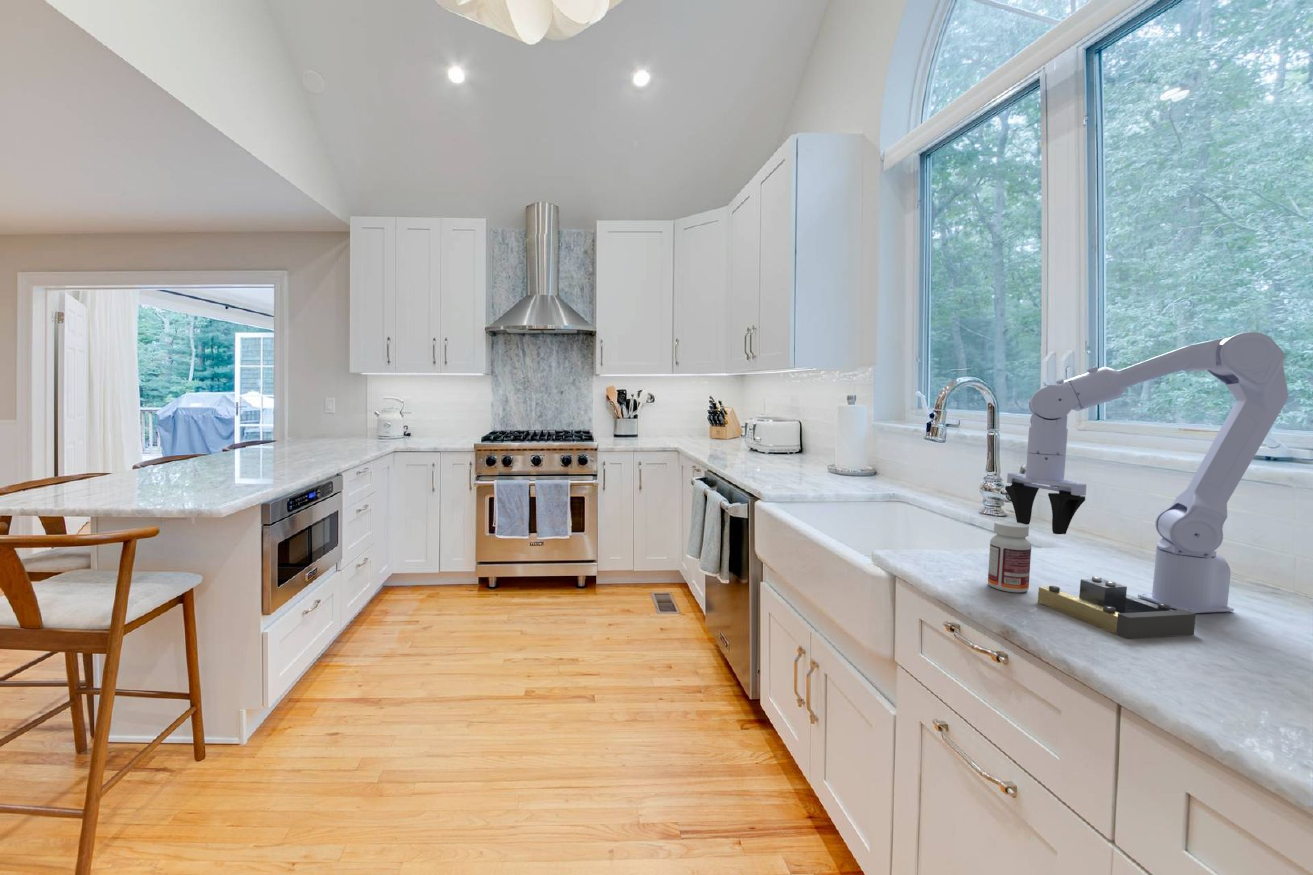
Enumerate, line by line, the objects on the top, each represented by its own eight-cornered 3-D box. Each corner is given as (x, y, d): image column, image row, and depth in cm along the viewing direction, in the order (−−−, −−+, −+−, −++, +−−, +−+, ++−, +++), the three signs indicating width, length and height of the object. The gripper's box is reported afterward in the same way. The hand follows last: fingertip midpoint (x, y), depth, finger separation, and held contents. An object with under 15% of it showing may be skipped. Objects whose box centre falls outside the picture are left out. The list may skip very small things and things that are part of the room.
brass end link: (1047, 601, 94) (1048, 582, 94) (1126, 633, 81) (1128, 612, 81) (1037, 601, 94) (1039, 583, 93) (1116, 634, 81) (1118, 612, 81)
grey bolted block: (1099, 609, 91) (1101, 575, 91) (1124, 619, 87) (1127, 583, 87) (1078, 610, 90) (1080, 576, 90) (1102, 620, 86) (1105, 584, 86)
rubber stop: (1181, 630, 83) (1183, 609, 83) (1193, 634, 82) (1195, 613, 81) (1116, 634, 81) (1117, 613, 81) (1127, 638, 79) (1129, 617, 79)
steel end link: (1096, 599, 96) (1097, 581, 96) (1181, 630, 83) (1183, 609, 83) (1087, 599, 95) (1088, 581, 95) (1171, 630, 83) (1173, 609, 83)
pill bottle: (1035, 590, 99) (1040, 525, 99) (1016, 595, 96) (1021, 528, 96) (999, 580, 105) (1003, 519, 104) (980, 585, 102) (984, 521, 101)
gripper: (995, 449, 109) (990, 520, 110) (1063, 457, 95) (1057, 538, 96) (1027, 450, 110) (1021, 520, 111) (1099, 458, 96) (1092, 538, 97)
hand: (1040, 528), depth 103 cm, fingers open, 7 cm apart
